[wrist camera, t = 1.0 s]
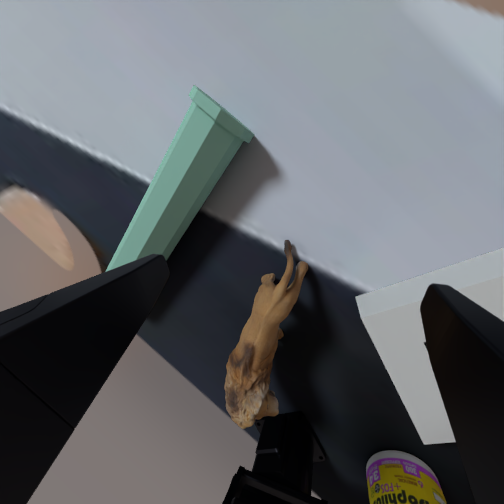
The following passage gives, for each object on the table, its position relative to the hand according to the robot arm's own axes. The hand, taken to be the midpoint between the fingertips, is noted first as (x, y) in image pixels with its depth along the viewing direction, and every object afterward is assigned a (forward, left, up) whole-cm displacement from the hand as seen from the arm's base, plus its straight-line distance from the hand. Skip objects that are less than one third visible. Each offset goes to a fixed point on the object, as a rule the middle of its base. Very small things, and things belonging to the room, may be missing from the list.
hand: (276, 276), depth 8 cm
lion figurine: (-7, +7, -15) cm, 18 cm away
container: (+7, +13, -15) cm, 21 cm away
